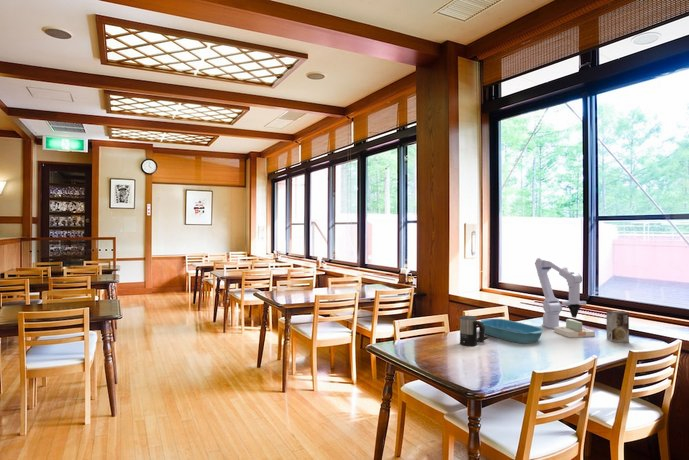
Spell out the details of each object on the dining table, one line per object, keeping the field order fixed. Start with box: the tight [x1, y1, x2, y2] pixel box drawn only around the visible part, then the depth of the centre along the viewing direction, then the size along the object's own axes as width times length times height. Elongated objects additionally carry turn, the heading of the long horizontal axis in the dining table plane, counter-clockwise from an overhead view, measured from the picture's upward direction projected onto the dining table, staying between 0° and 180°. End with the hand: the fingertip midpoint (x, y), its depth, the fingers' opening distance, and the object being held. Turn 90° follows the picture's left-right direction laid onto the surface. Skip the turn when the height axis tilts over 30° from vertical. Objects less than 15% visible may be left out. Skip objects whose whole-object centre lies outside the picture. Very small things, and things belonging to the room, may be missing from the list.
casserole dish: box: [479, 318, 544, 344], centre depth 249 cm, size 37×22×7 cm, turn 34°
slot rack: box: [553, 326, 596, 339], centre depth 255 cm, size 14×16×3 cm
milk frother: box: [459, 315, 490, 347], centre depth 236 cm, size 14×16×15 cm
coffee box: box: [606, 310, 630, 343], centre depth 240 cm, size 9×6×16 cm
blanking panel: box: [565, 318, 583, 332], centre depth 255 cm, size 10×3×7 cm, turn 9°
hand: (574, 317), depth 255 cm, fingers closed
